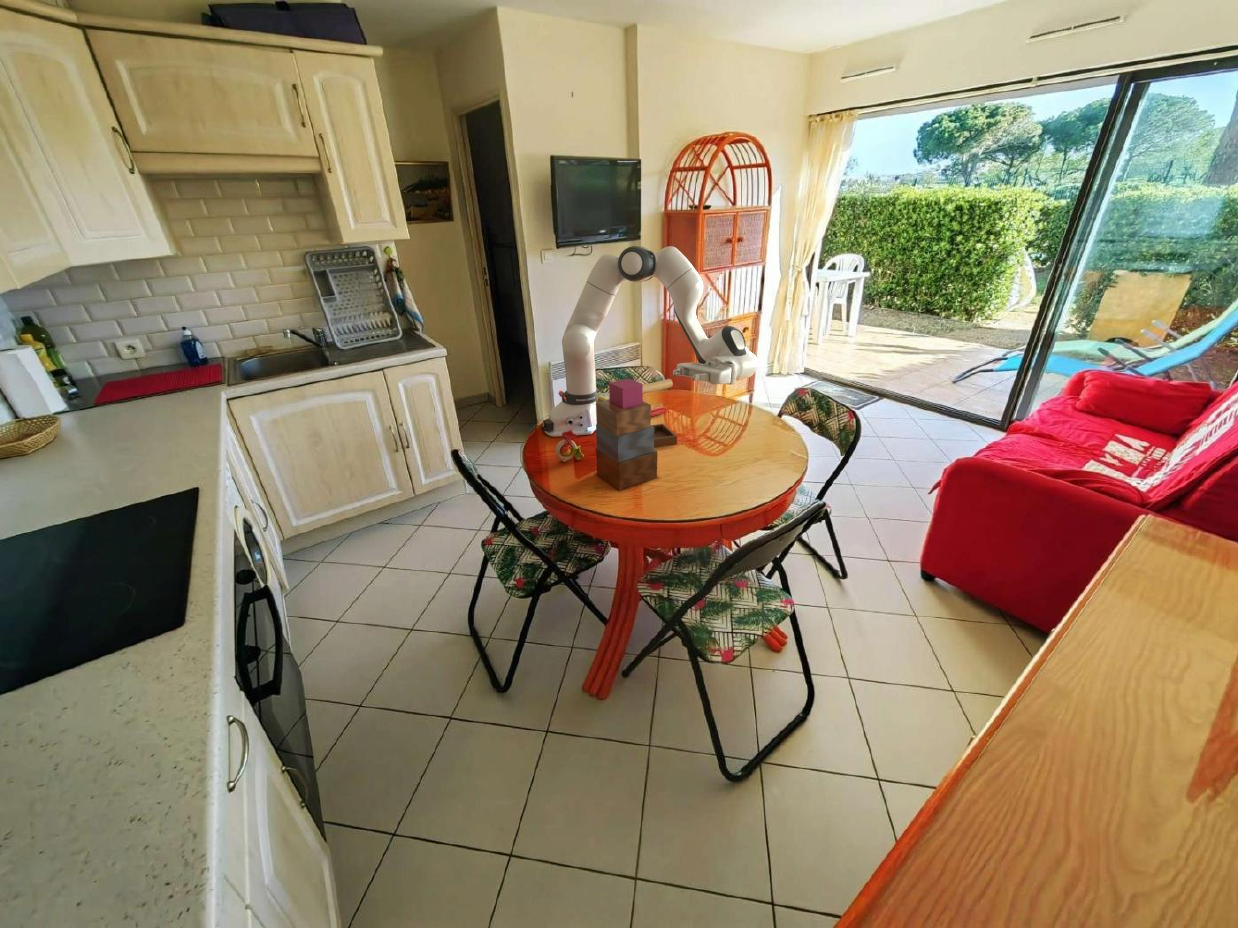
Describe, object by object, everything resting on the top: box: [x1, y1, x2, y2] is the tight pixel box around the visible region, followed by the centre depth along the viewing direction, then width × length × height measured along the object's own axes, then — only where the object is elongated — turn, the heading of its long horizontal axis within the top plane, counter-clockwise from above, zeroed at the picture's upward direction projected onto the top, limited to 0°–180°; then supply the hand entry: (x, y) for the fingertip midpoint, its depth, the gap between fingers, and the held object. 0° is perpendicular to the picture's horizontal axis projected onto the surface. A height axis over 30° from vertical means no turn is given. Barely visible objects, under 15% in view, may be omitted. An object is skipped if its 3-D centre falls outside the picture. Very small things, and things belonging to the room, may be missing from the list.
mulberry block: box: [608, 378, 674, 409], centre depth 151 cm, size 20×7×6 cm, turn 124°
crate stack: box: [595, 400, 658, 491], centre depth 154 cm, size 14×13×24 cm
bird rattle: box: [555, 430, 585, 463], centre depth 168 cm, size 6×11×9 cm
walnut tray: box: [651, 423, 678, 448], centre depth 183 cm, size 17×13×3 cm
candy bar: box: [651, 406, 669, 417], centre depth 204 cm, size 16×4×3 cm, turn 123°
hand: (683, 375), depth 159 cm, fingers open, 8 cm apart
